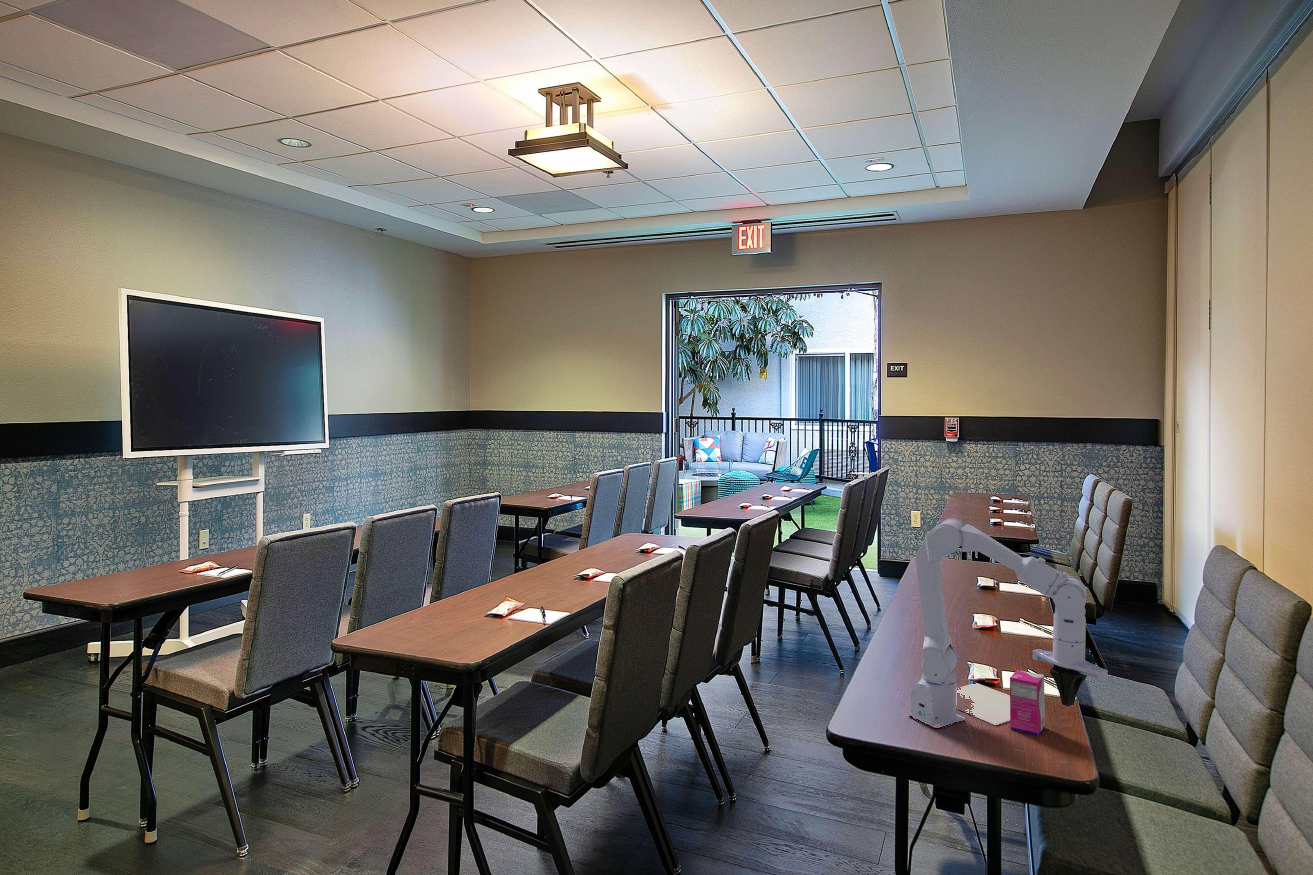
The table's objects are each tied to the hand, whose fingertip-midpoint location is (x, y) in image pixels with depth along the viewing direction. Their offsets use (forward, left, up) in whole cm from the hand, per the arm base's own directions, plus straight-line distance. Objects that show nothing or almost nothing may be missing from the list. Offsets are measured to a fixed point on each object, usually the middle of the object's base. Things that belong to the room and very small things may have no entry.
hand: (1067, 704), depth 152 cm
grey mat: (+4, +22, -8) cm, 24 cm away
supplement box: (0, +9, -9) cm, 12 cm away
